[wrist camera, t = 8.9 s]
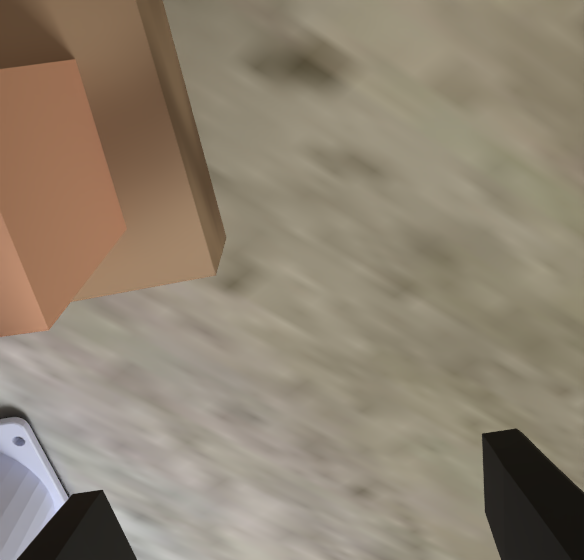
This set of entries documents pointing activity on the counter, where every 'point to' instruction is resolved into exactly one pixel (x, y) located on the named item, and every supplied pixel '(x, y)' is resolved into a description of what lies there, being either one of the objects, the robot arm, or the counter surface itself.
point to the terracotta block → (50, 195)
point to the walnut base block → (131, 132)
